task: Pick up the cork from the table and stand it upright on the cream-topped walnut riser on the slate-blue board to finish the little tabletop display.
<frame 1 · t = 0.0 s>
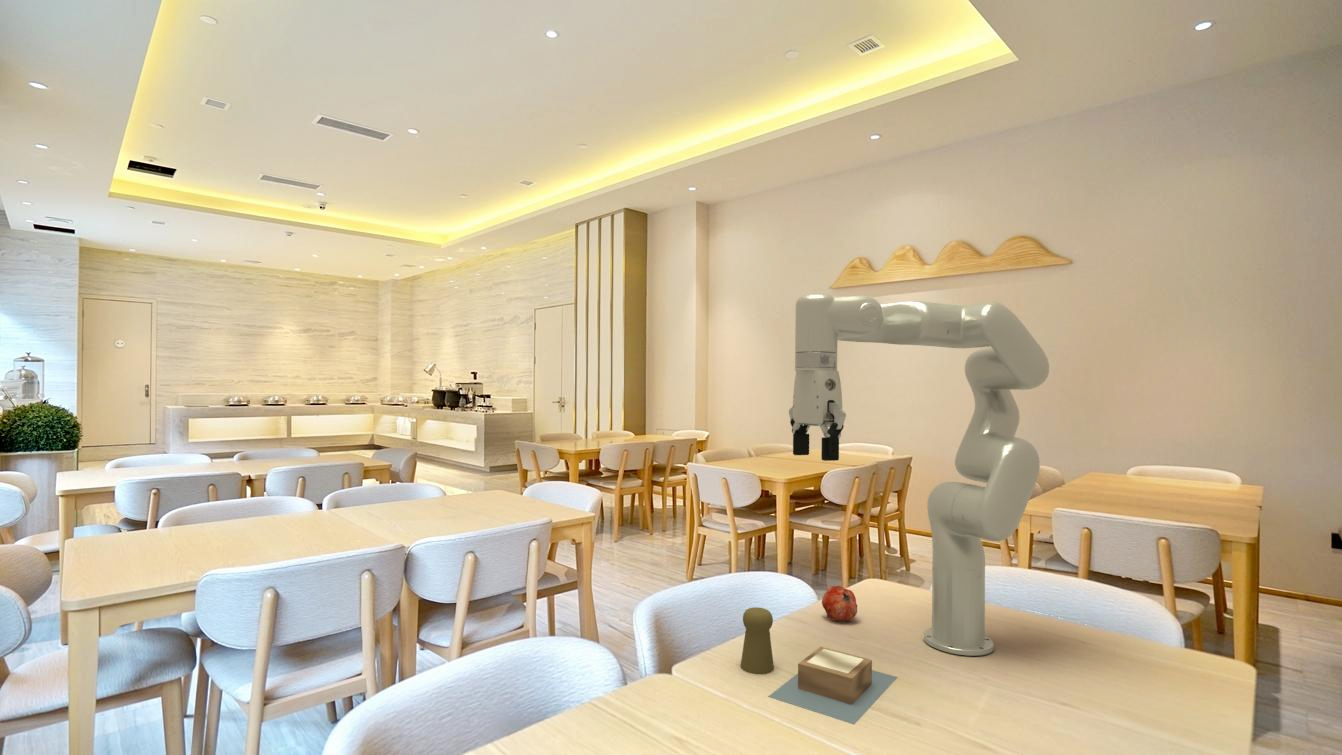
hand: (815, 457, 119), 37 cm above the table, tool pointing down, fingers open, 9 cm apart
pomegranate: (839, 620, 142), on the table
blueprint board: (835, 692, 107), on the table
walnut riser: (835, 686, 107), resting on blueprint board
cork: (757, 674, 115), on the table
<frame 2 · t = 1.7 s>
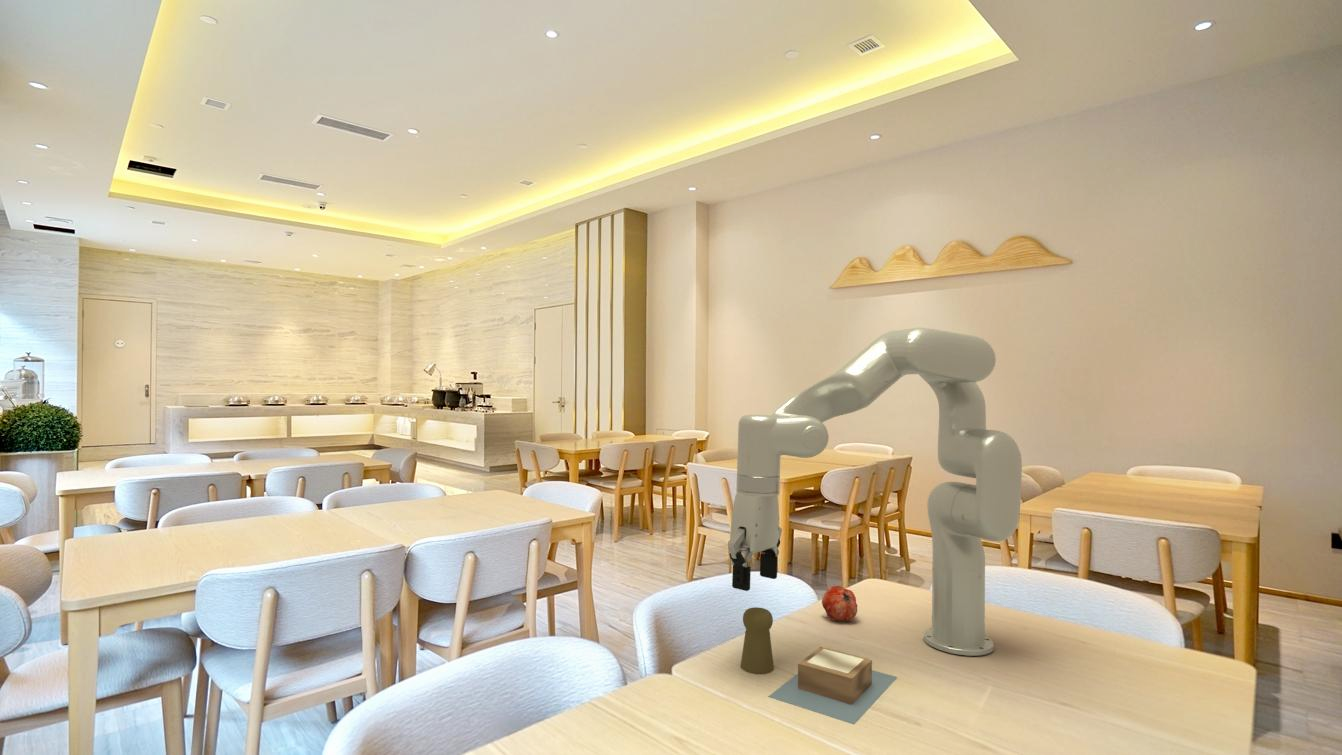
hand: (755, 583, 115), 16 cm above the table, tool pointing down, fingers open, 9 cm apart
nothing on the table moved.
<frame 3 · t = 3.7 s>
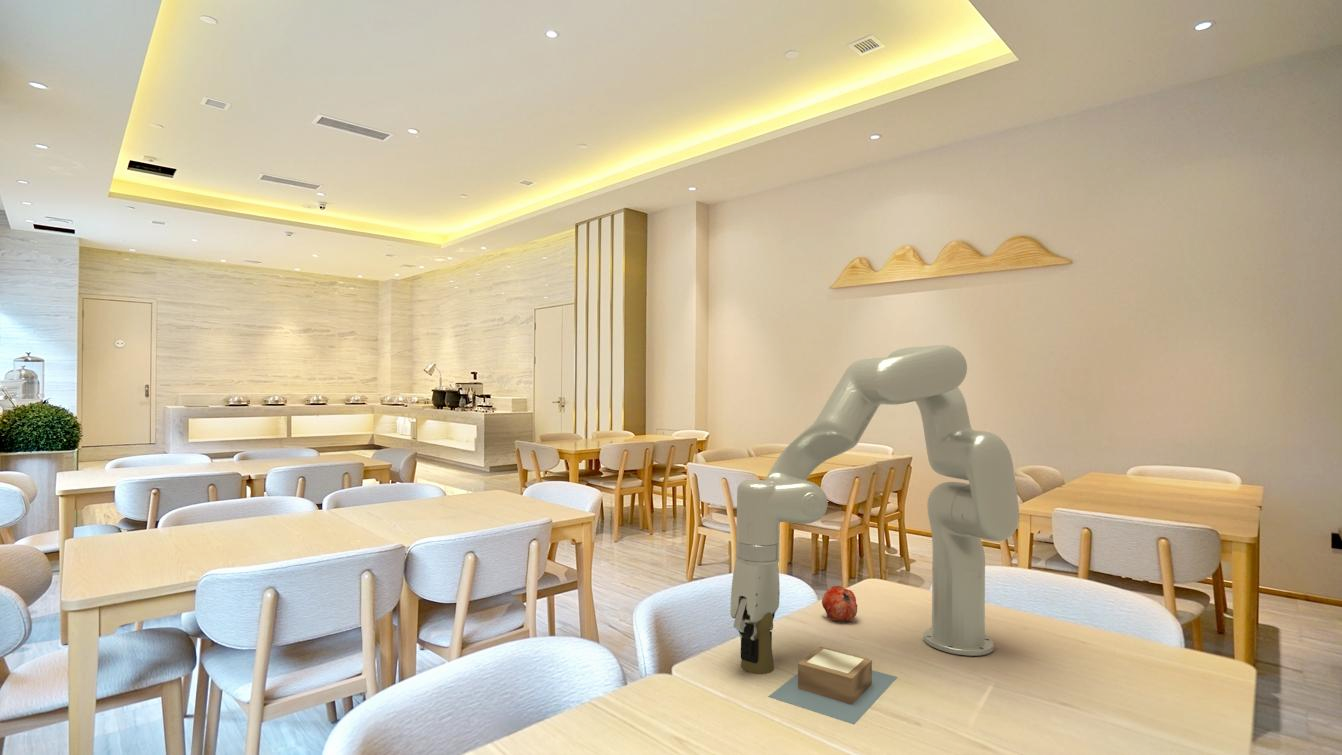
hand: (756, 655, 115), 3 cm above the table, tool pointing down, fingers closed on cork, 4 cm apart
cork: (757, 673, 115), on the table, touching gripper
everything else where it was.
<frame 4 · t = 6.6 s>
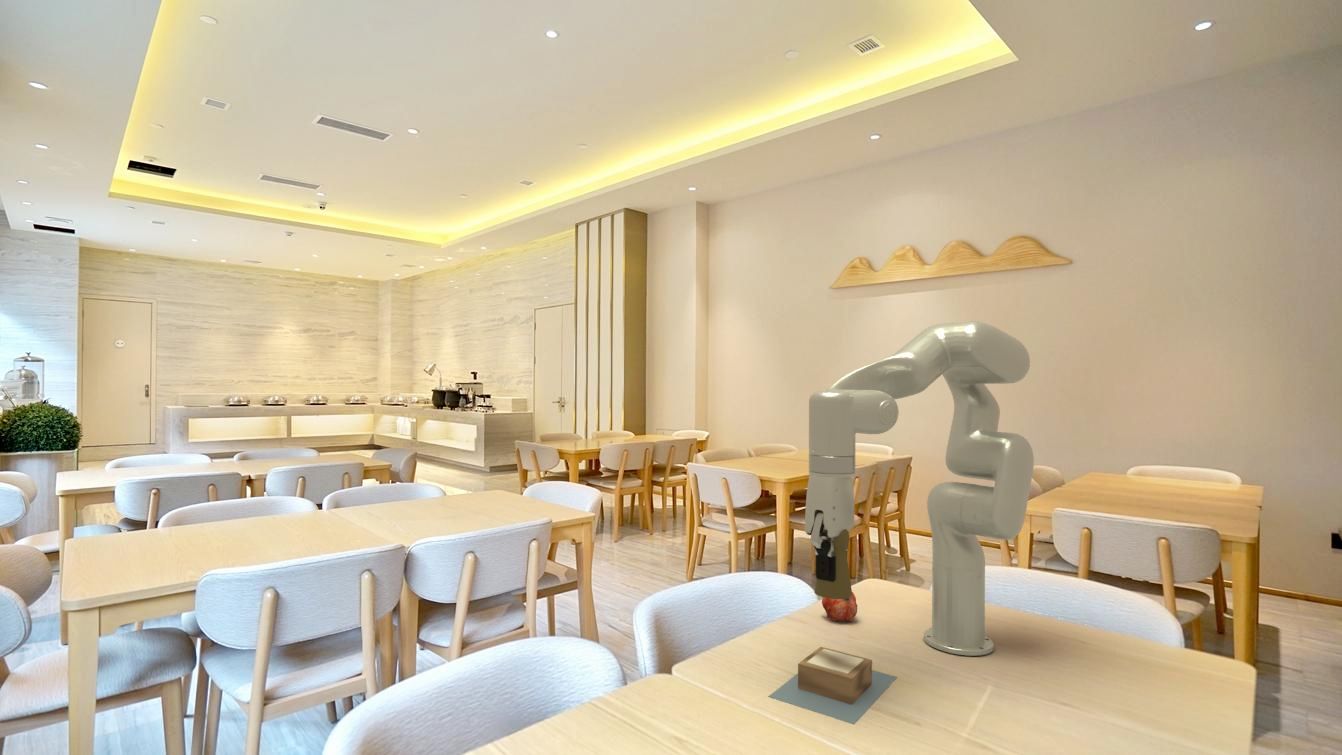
hand: (831, 575, 108), 19 cm above the table, tool pointing down, fingers closed on cork, 4 cm apart
cork: (833, 594, 108), point 16 cm above the table, touching gripper
everything else where it was.
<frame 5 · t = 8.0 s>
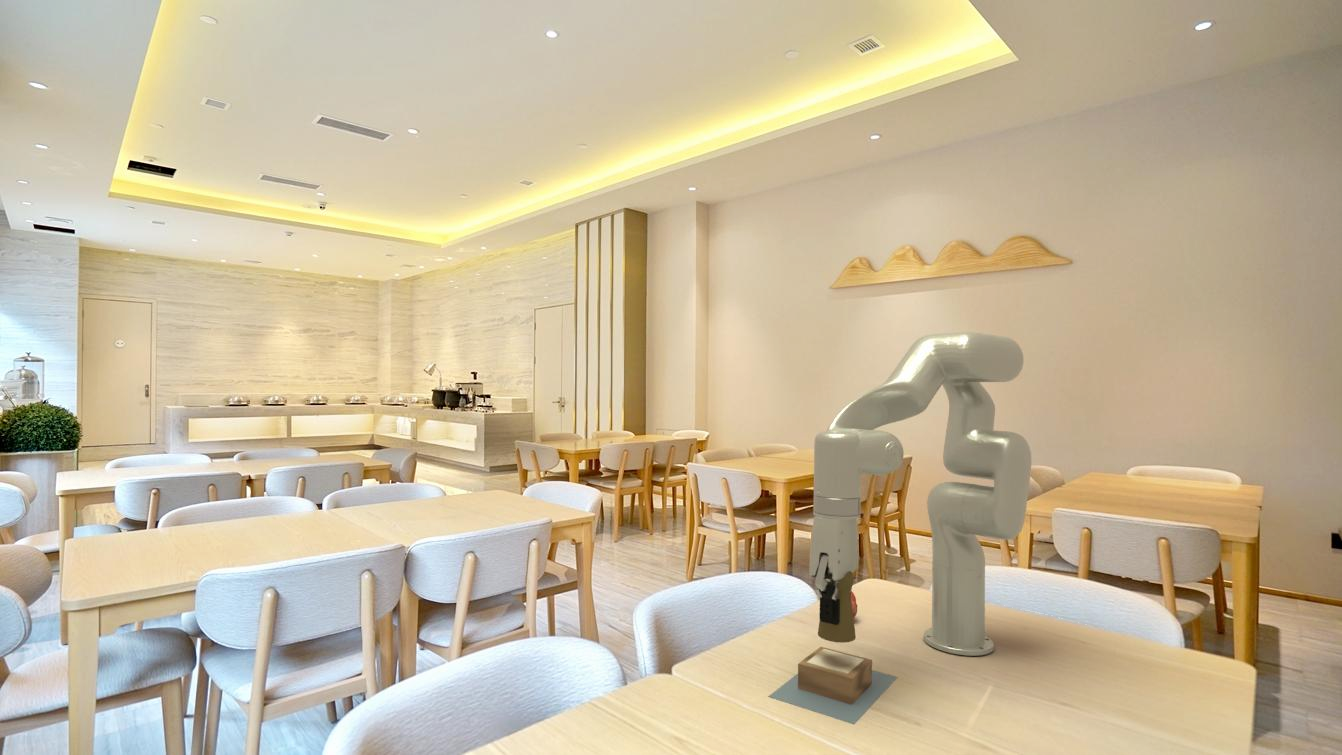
hand: (835, 617, 108), 12 cm above the table, tool pointing down, fingers closed on cork, 4 cm apart
cork: (836, 636, 107), point 9 cm above the table, touching gripper
everything else where it was.
when the fingers open (9 cm above the table, at t = 9.3 s): cork drops 1 cm, resting on walnut riser.
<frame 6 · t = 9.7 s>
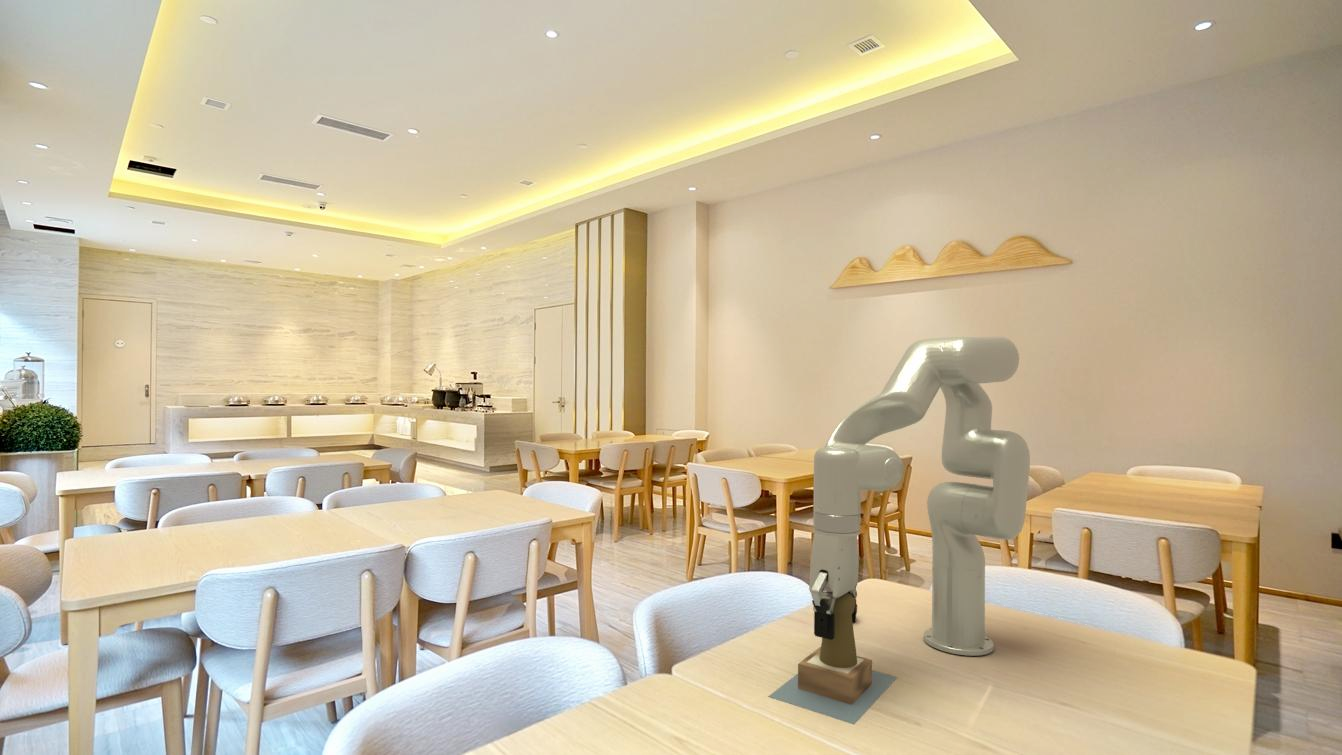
hand: (835, 628, 108), 10 cm above the table, tool pointing down, fingers open, 8 cm apart
cork: (838, 661, 108), point 5 cm above the table, touching walnut riser
everything else where it was.
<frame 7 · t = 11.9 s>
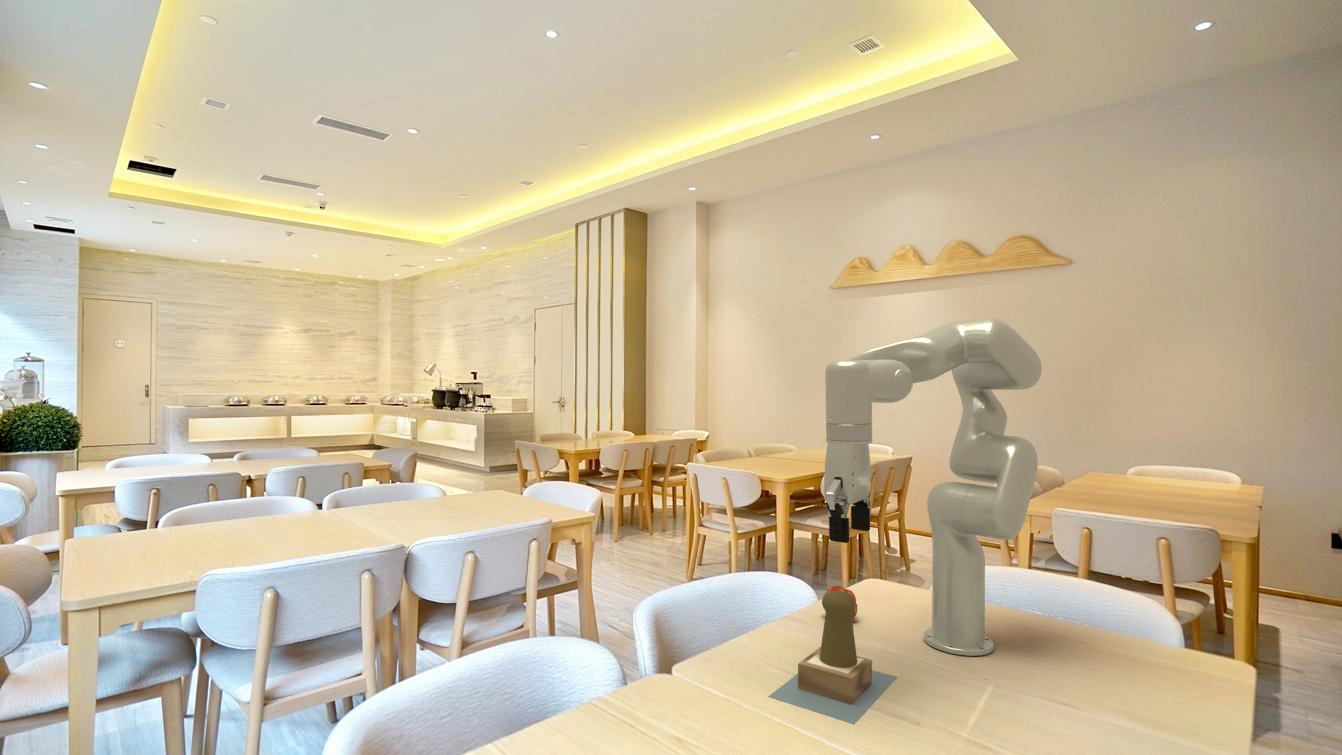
hand: (850, 535, 111), 25 cm above the table, tool pointing down, fingers open, 9 cm apart
nothing on the table moved.
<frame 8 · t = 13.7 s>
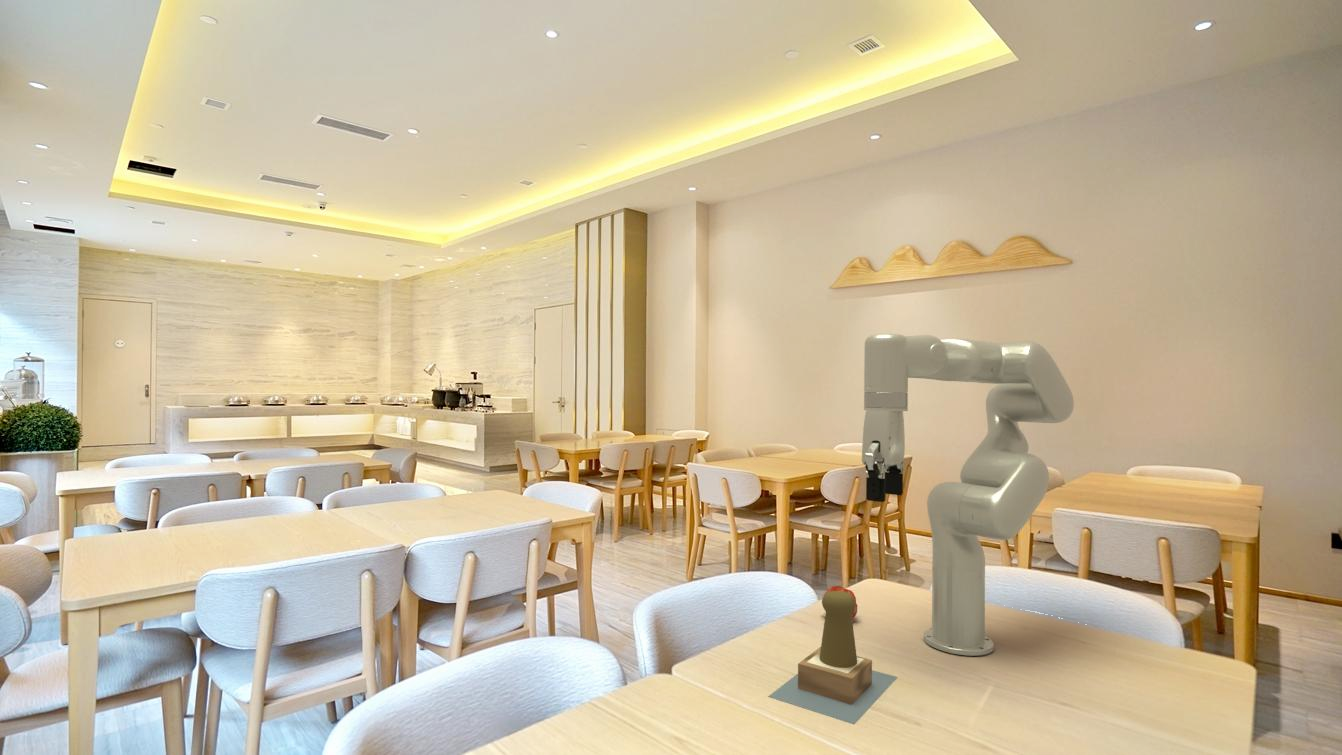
hand: (884, 497, 118), 30 cm above the table, tool pointing down, fingers open, 9 cm apart
nothing on the table moved.
at the end: cork 0.5 cm off-centre on the walnut riser, point 4.0 cm above the walnut riser's base; cork tilted 0°; the gripper is holding nothing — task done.
